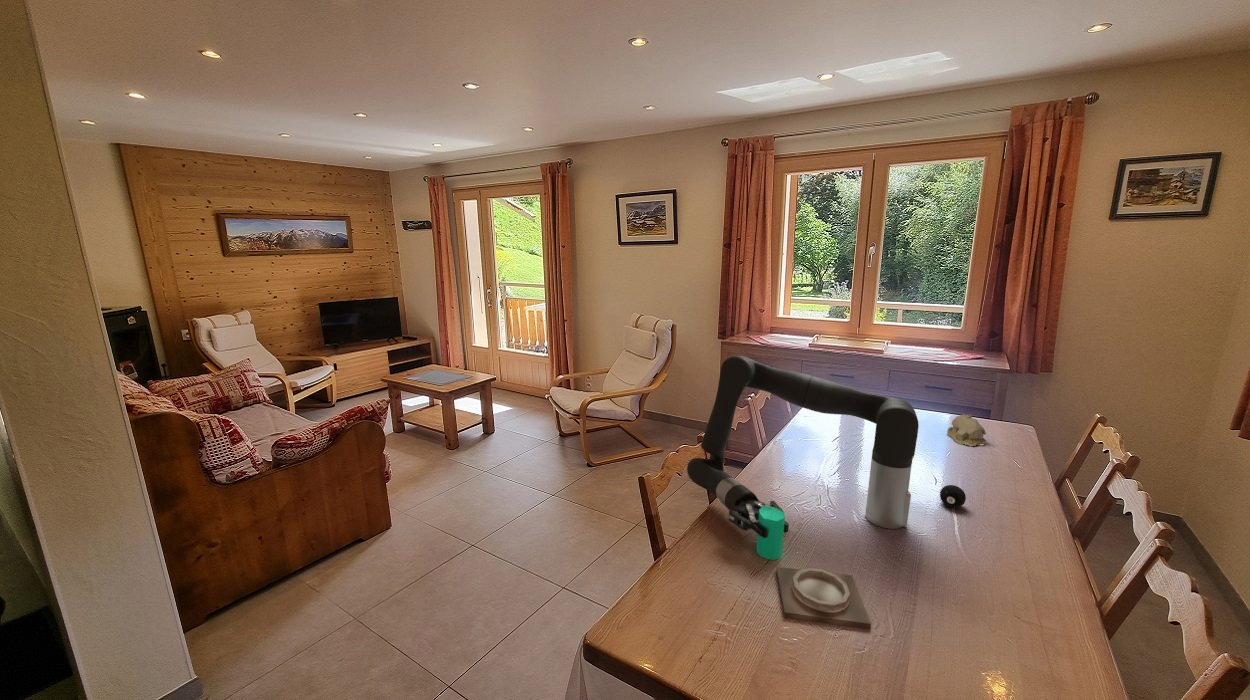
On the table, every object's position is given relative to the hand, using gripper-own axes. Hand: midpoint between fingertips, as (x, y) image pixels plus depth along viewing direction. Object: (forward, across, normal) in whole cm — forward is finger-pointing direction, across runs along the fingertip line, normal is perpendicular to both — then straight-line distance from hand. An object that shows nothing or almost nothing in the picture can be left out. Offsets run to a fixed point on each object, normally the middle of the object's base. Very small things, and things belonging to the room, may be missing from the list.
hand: (776, 531), depth 112 cm
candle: (-3, 0, +7) cm, 8 cm away
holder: (+14, 0, +7) cm, 16 cm away
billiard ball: (-1, +62, +7) cm, 62 cm away
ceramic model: (-32, +112, +7) cm, 117 cm away
